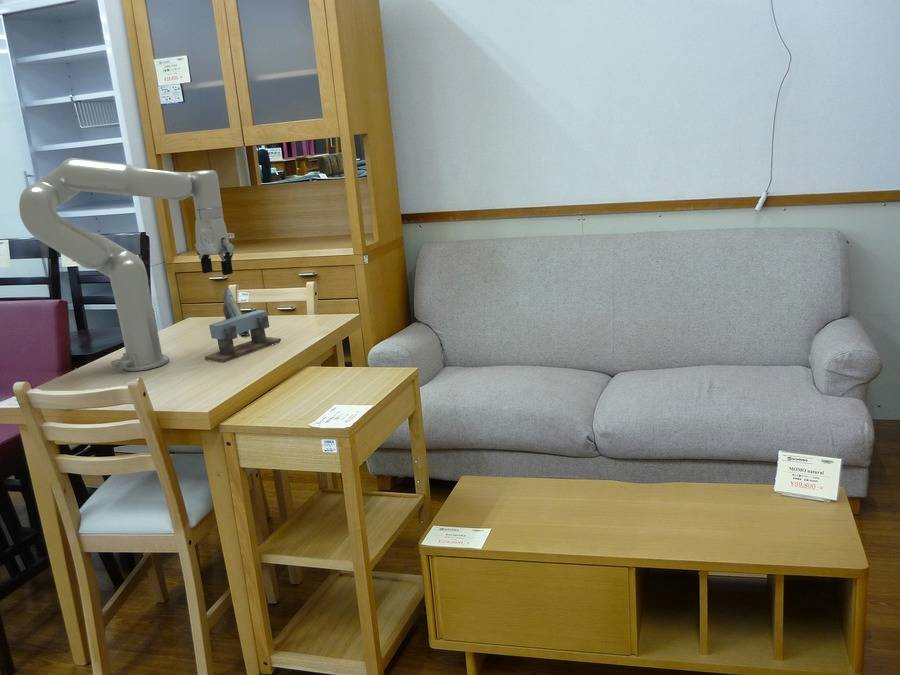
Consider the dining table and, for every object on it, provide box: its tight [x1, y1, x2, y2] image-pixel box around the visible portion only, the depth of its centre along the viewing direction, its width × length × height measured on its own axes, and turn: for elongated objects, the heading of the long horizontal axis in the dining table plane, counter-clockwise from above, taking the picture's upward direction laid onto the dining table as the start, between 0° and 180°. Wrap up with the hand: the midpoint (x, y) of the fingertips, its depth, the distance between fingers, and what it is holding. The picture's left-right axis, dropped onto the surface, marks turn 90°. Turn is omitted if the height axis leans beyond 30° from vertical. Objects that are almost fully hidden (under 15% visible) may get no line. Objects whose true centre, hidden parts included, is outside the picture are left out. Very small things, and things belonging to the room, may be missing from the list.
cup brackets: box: [204, 315, 282, 363], centre depth 238 cm, size 22×8×9 cm, turn 144°
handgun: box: [222, 287, 250, 337], centre depth 269 cm, size 31×3×15 cm, turn 26°
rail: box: [208, 309, 268, 340], centre depth 237 cm, size 18×4×4 cm, turn 143°
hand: (217, 273), depth 236 cm, fingers open, 9 cm apart
